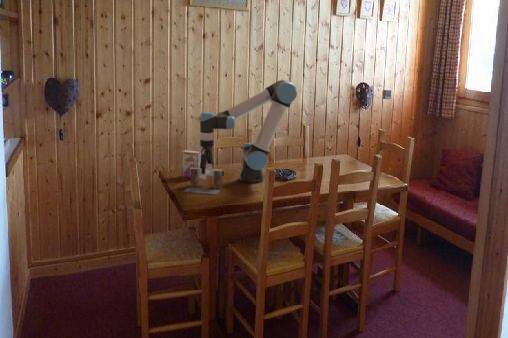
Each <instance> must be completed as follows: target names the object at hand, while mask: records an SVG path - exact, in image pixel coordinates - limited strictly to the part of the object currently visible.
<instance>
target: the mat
mask: <svg viewBox="0 0 508 338" xmlns="http://www.w3.org/2000/svg"><path fill="white" fill-rule="evenodd" d="M183 193H190V194H198V195H199V194H202V195H212V196H218V194H220V193H221V190H220V189H214V188H212V189H211V188H199V187H191V186H190V187H189V186H188V187H187V188H186V189H184V190H183Z"/></svg>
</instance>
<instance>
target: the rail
mask: <svg viewBox="0 0 508 338" xmlns="http://www.w3.org/2000/svg"><path fill="white" fill-rule="evenodd" d="M191 169H196V175H201V168H197V167H191V168H189V174H191ZM214 171H220V173H219V177H222V178H223V177H224V176H225V170H224V169H223V168H221V169H217V168H212V169H209V168H207V167H206V177H207V176H208V177H214Z"/></svg>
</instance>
